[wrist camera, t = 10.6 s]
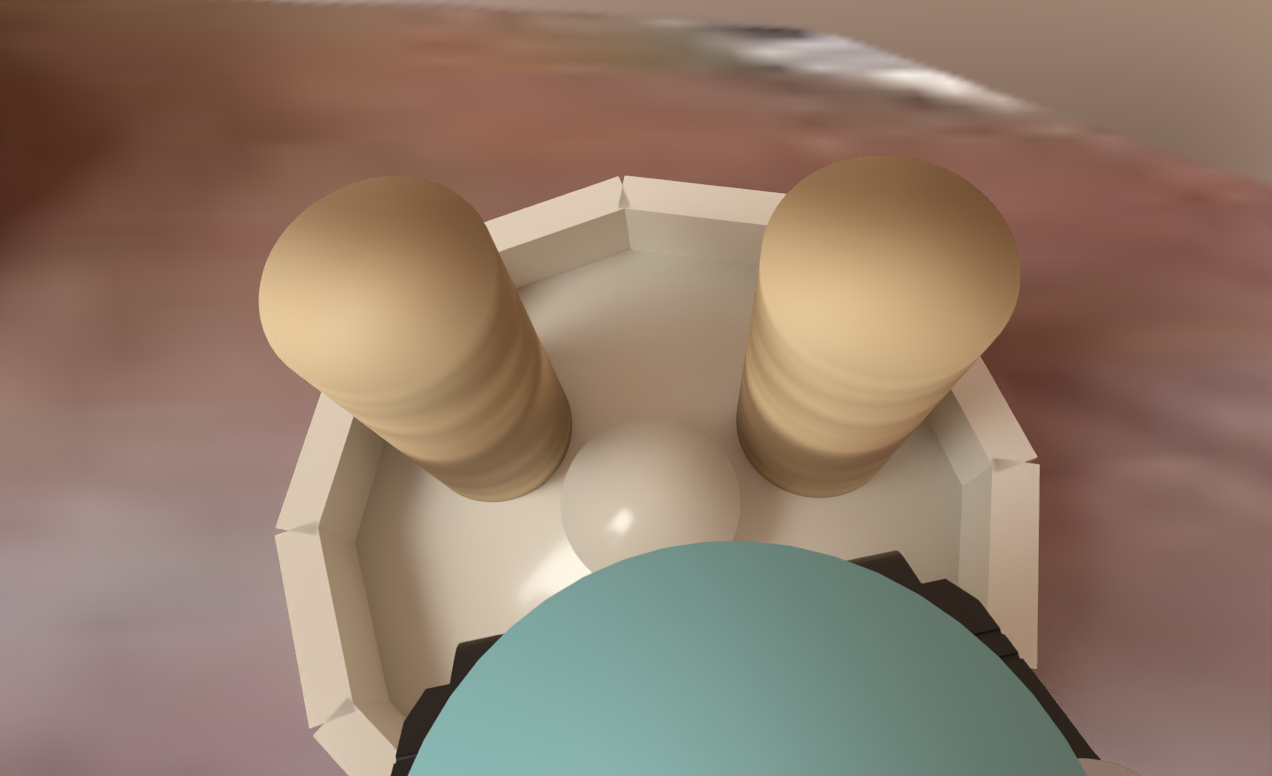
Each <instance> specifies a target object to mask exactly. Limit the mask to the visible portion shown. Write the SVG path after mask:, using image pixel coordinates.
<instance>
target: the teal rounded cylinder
mask: <svg viewBox="0 0 1272 776" xmlns="http://www.w3.org/2000/svg"><path fill="white" fill-rule="evenodd" d="M408 776H1087V775H1086V773H1085V771H1084V770H1083V768H1082V766H1081V764H1080V763H1079V761H1078V759H1077V757H1076V756H1075V754H1074V752H1073V750H1072V749H1071V747H1070V745H1069V743H1068V742H1067V740H1066V739H1065V737H1064V736H1063V735H1062V733H1061V732H1060V730H1059V729H1058V728H1057V726H1056V725H1055V724H1054V722H1053V721H1052V719H1051V718H1050V717H1049V715H1048V714H1047V713H1046V711H1045V710H1044V708H1043V707H1042V706H1041V704H1040V703H1039V702H1038V700H1037V699H1036V698H1035V696H1034V695H1033V694H1032V693H1031V692H1030V691H1029V689H1028V688H1027V687H1026V686H1025V685H1024V684H1023V683H1022V682H1021V681H1020V680H1019V678H1018V677H1017V676H1016V675H1015V674H1014V673H1013V672H1012V671H1011V670H1010V669H1009V668H1008V666H1007V665H1006V664H1005V663H1004V662H1003V661H1002V660H1001V659H1000V658H999V657H998V656H997V655H996V654H995V653H994V652H993V651H992V650H990V649H989V648H988V647H987V646H986V645H985V644H984V643H982V642H981V641H980V640H979V639H978V638H977V637H976V636H974V635H973V634H972V633H971V632H970V631H969V630H968V629H966V628H965V627H964V626H963V625H962V624H961V623H960V622H958V621H957V620H955V619H954V618H952V617H951V616H949V615H948V614H947V613H945V612H944V611H942V610H941V609H939V608H938V607H936V606H935V605H933V604H932V603H931V602H929V601H928V600H926V599H925V598H923V597H922V596H920V595H919V594H917V593H915V592H913V591H911V590H909V589H907V588H906V587H904V586H902V585H900V584H898V583H896V582H894V581H892V580H890V579H889V578H887V577H885V576H883V575H881V574H879V573H877V572H874V571H872V570H869V569H867V568H864V567H861V566H859V565H856V564H853V563H851V562H848V561H846V560H843V559H840V558H838V557H835V556H831V555H827V554H823V553H819V552H815V551H811V550H807V549H803V548H798V547H794V546H789V545H780V544H771V543H762V542H753V541H718V542H700V543H694V544H687V545H680V546H674V547H667V548H662V549H658V550H655V551H651V552H648V553H645V554H641V555H638V556H634V557H631V558H627V559H624V560H621V561H619V562H616V563H614V564H612V565H610V566H607V567H605V568H603V569H600V570H598V571H596V572H594V573H591V574H589V575H587V576H584V577H582V578H581V579H579V580H577V581H576V582H574V583H572V584H571V585H569V586H567V587H566V588H564V589H563V590H561V591H559V592H558V593H556V594H554V595H553V596H551V597H549V598H548V599H546V600H545V601H543V602H542V603H541V604H540V605H538V606H537V607H536V608H534V609H533V610H532V611H531V612H529V613H528V614H527V615H526V616H524V617H523V618H522V619H521V620H519V621H518V622H517V623H515V624H514V625H513V626H512V627H511V628H510V629H509V630H508V631H507V632H506V633H505V634H504V635H503V636H502V637H501V638H500V639H499V640H498V641H497V642H496V643H495V644H494V645H493V646H492V647H491V648H490V649H489V650H488V651H487V652H486V653H485V654H484V655H483V656H482V657H481V658H480V659H479V660H478V661H477V663H476V664H475V665H474V666H473V668H472V669H471V670H470V672H469V673H468V674H467V676H466V677H465V678H464V679H463V681H462V682H461V683H460V685H459V686H458V687H457V688H456V690H455V691H454V692H453V694H452V695H451V696H450V698H449V699H448V701H447V703H446V704H445V706H444V708H443V709H442V711H441V713H440V714H439V716H438V718H437V719H436V721H435V723H434V724H433V726H432V728H431V729H430V731H429V733H428V734H427V736H426V738H425V739H424V741H423V743H422V746H421V748H420V750H419V752H418V754H417V757H416V759H415V761H414V763H413V765H412V768H411V770H410V772H409V774H408Z"/></svg>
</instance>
